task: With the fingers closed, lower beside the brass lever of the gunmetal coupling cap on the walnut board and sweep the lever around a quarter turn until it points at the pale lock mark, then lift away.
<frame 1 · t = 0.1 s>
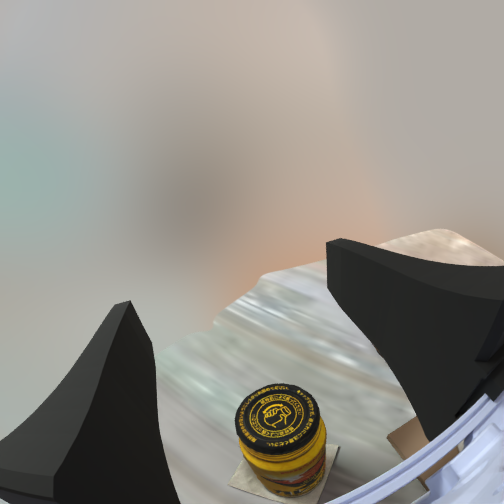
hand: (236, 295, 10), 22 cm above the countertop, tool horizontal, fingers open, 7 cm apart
condiment: (284, 469, 20), on the countertop
post base: (485, 441, 15), on the countertop
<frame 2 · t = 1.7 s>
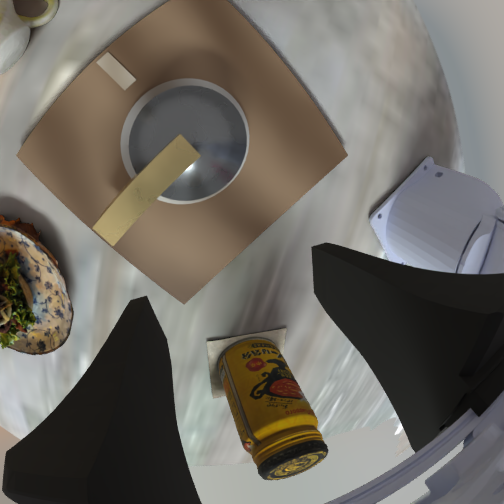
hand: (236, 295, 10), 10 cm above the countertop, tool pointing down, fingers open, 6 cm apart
plate of food: (17, 283, 16), on the countertop
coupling: (166, 163, 13), point 3 cm above the countertop, hinge at 0.0°
condiment: (246, 363, 26), on the countertop
post base: (184, 140, 16), on the countertop
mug: (3, 30, 8), on the countertop
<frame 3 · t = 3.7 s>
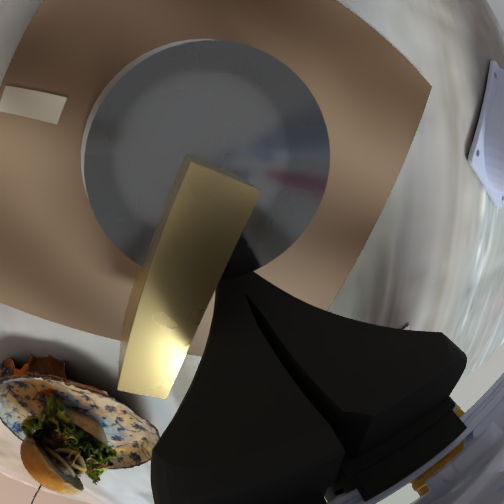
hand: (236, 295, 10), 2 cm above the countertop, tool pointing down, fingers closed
plate of food: (74, 411, 13), on the countertop
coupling: (187, 221, 7), point 3 cm above the countertop, hinge at 1.3°, touching gripper
condiment: (371, 375, 20), on the countertop
post base: (197, 152, 9), on the countertop
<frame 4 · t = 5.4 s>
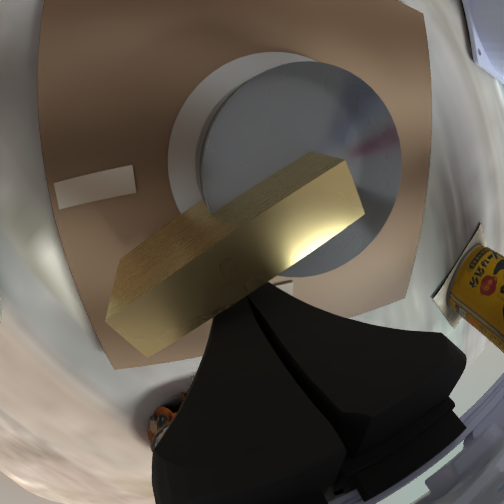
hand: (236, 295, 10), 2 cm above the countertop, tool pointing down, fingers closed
plate of food: (230, 422, 17), on the countertop
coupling: (270, 202, 7), point 3 cm above the countertop, hinge at 62.9°, touching gripper
condiment: (465, 279, 19), on the countertop
post base: (273, 157, 10), on the countertop
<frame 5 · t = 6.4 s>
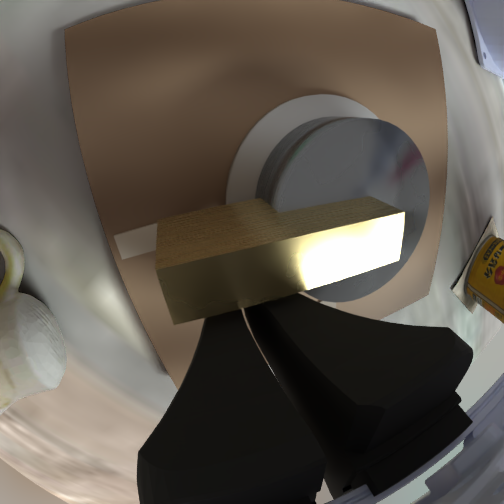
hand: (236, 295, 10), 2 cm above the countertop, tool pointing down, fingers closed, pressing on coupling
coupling: (323, 224, 8), point 3 cm above the countertop, hinge at 92.1°, touching gripper
condiment: (480, 268, 19), on the countertop
post base: (315, 190, 11), on the countertop
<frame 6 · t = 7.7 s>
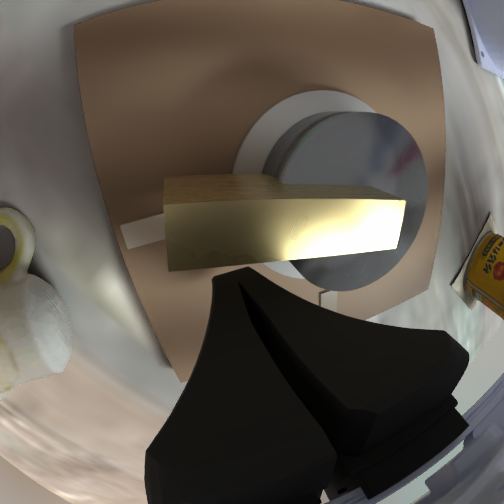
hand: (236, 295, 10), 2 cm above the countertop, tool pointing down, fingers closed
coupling: (325, 206, 8), point 3 cm above the countertop, hinge at 101.0°
condiment: (479, 264, 20), on the countertop
post base: (316, 183, 11), on the countertop
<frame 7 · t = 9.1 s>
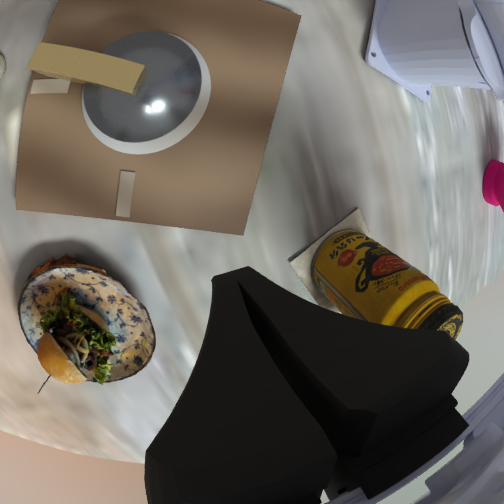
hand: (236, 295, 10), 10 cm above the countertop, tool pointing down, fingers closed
plate of food: (86, 318, 19), on the countertop
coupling: (115, 77, 11), point 3 cm above the countertop, hinge at 101.0°
condiment: (341, 266, 24), on the countertop
post base: (145, 92, 14), on the countertop
pepper mill: (490, 180, 27), on the countertop
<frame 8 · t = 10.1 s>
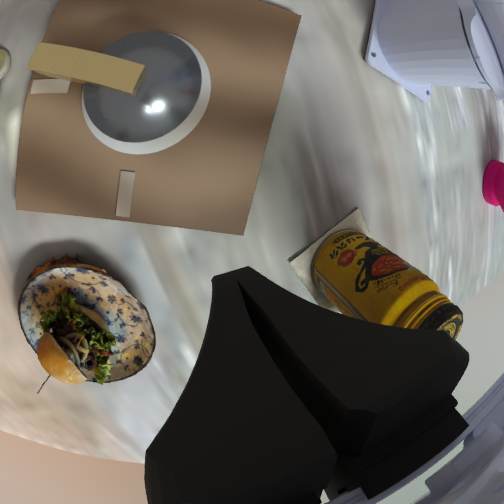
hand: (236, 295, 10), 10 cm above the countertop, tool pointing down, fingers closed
plate of food: (86, 318, 19), on the countertop
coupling: (115, 77, 11), point 3 cm above the countertop, hinge at 101.0°
condiment: (341, 266, 24), on the countertop
post base: (145, 92, 14), on the countertop
pepper mill: (490, 180, 27), on the countertop
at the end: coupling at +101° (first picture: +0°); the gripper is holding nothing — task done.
